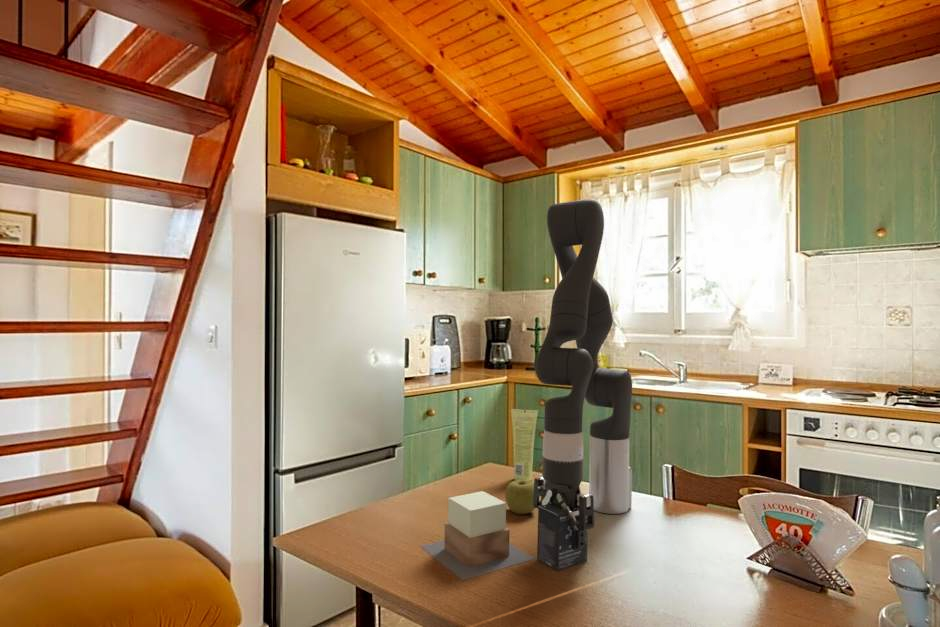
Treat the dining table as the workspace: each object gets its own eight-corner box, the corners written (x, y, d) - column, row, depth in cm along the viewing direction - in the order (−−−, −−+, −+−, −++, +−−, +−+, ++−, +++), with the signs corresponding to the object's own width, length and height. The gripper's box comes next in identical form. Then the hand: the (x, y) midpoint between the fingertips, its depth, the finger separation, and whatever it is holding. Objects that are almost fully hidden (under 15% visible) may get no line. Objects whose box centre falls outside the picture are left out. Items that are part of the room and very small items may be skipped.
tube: (525, 475, 157) (526, 407, 157) (537, 480, 153) (538, 409, 153) (509, 478, 154) (510, 409, 154) (521, 483, 150) (522, 411, 150)
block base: (482, 539, 112) (483, 514, 112) (509, 555, 104) (509, 529, 104) (444, 548, 107) (444, 523, 107) (469, 567, 99) (469, 539, 99)
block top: (482, 515, 111) (482, 491, 111) (505, 529, 104) (506, 502, 104) (448, 523, 107) (448, 497, 107) (470, 538, 100) (470, 510, 100)
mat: (487, 531, 117) (487, 529, 117) (535, 560, 103) (535, 558, 103) (420, 548, 108) (420, 546, 108) (462, 582, 95) (462, 580, 95)
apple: (498, 513, 127) (498, 482, 127) (518, 504, 133) (518, 475, 133) (525, 521, 122) (525, 489, 122) (545, 512, 128) (545, 481, 128)
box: (557, 573, 98) (557, 514, 98) (536, 561, 103) (536, 505, 103) (588, 563, 102) (589, 506, 102) (567, 551, 107) (567, 497, 107)
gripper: (605, 460, 99) (604, 551, 99) (553, 444, 111) (552, 525, 111) (574, 466, 95) (573, 560, 95) (523, 448, 107) (522, 532, 107)
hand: (561, 541), depth 103 cm, fingers open, 8 cm apart
